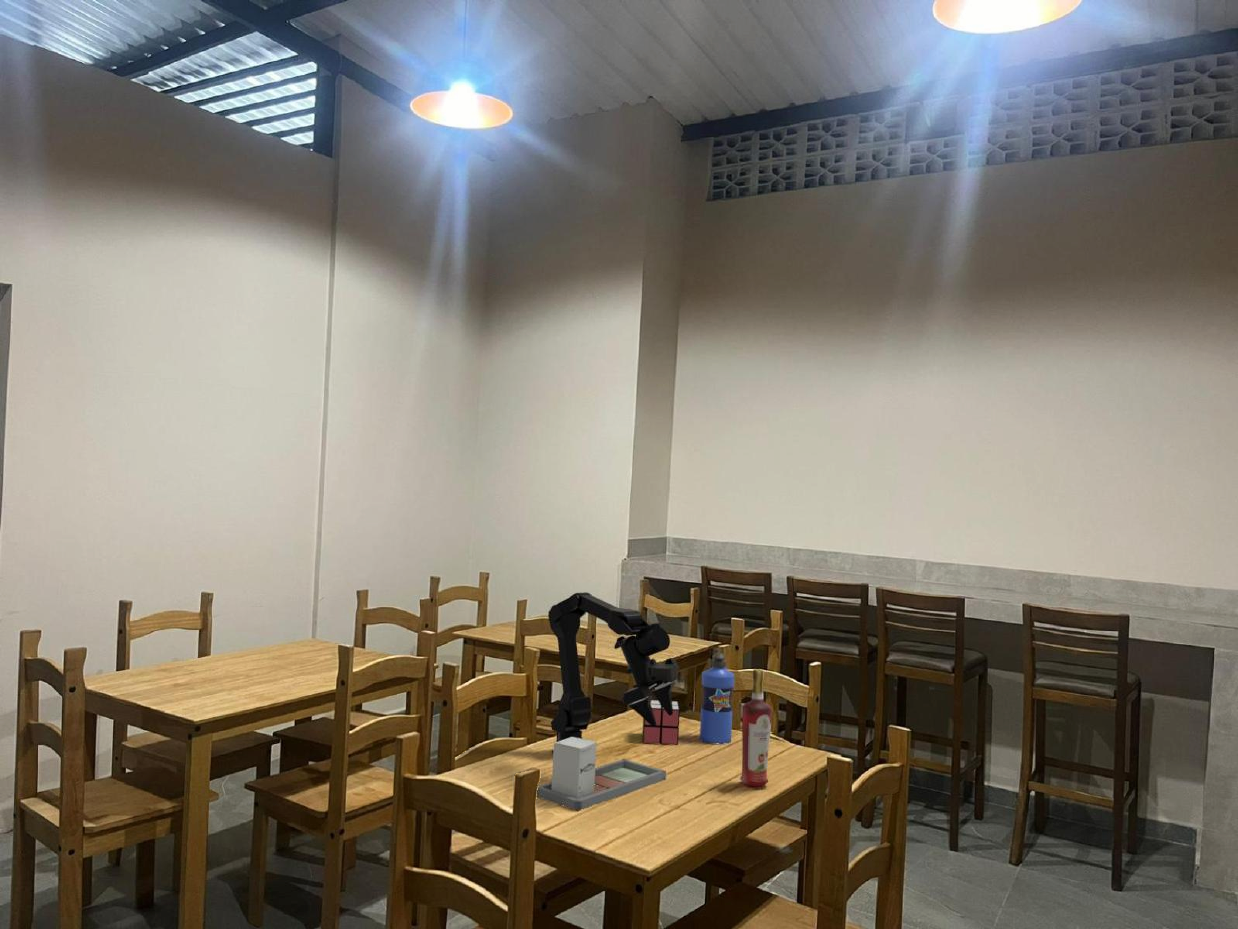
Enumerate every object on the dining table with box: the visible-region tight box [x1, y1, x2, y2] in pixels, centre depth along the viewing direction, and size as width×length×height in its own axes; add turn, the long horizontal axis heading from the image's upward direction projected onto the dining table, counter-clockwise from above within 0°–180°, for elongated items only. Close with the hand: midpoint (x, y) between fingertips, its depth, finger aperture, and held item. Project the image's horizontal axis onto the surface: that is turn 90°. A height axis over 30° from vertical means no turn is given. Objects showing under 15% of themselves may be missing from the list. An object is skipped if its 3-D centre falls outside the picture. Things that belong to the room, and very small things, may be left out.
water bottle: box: [699, 651, 735, 745], centre depth 260 cm, size 9×9×25 cm
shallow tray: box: [536, 758, 667, 811], centre depth 213 cm, size 13×32×2 cm, turn 140°
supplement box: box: [551, 737, 598, 799], centre depth 205 cm, size 7×7×13 cm
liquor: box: [739, 668, 773, 789], centre depth 220 cm, size 7×7×28 cm
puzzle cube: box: [641, 699, 681, 746], centre depth 257 cm, size 10×10×10 cm
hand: (663, 720), depth 220 cm, fingers open, 9 cm apart
